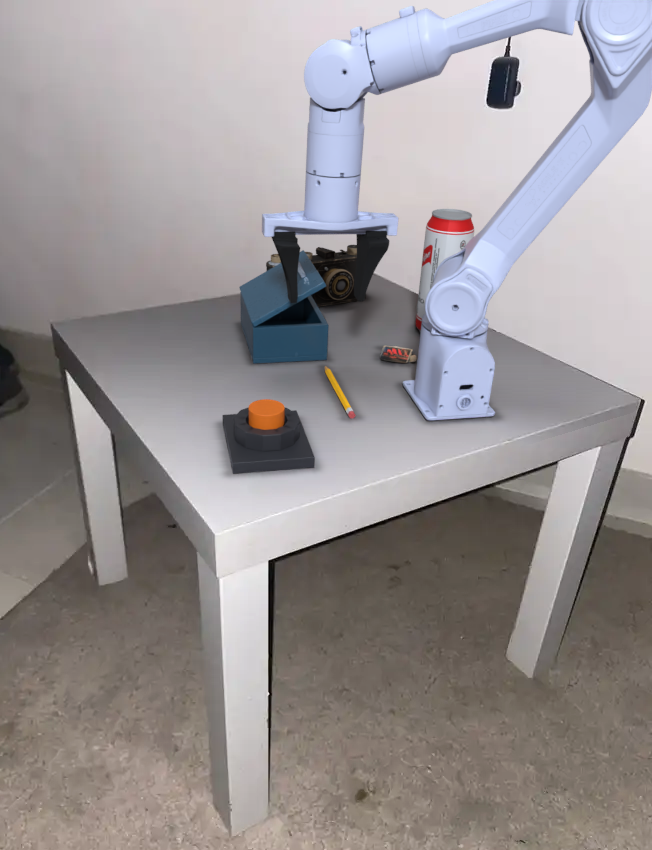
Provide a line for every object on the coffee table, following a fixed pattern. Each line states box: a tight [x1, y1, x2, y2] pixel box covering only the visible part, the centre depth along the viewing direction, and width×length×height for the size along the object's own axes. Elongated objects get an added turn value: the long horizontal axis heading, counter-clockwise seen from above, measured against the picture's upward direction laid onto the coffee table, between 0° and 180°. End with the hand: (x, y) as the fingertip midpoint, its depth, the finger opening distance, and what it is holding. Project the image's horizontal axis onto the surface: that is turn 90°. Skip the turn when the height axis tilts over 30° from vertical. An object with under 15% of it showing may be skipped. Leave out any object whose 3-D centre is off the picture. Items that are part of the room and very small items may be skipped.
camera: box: [265, 244, 367, 308], centre depth 113 cm, size 16×7×8 cm, turn 117°
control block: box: [222, 406, 316, 475], centre depth 78 cm, size 10×8×3 cm
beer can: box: [415, 208, 475, 333], centre depth 103 cm, size 6×6×16 cm
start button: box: [248, 398, 286, 430], centre depth 77 cm, size 4×4×2 cm
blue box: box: [239, 291, 329, 364], centre depth 101 cm, size 9×13×5 cm
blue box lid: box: [239, 249, 326, 327], centre depth 98 cm, size 10×13×5 cm
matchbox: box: [379, 345, 418, 364], centre depth 99 cm, size 5×5×1 cm
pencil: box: [324, 365, 357, 419], centre depth 90 cm, size 1×13×1 cm, turn 12°
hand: (325, 299), depth 87 cm, fingers open, 7 cm apart
